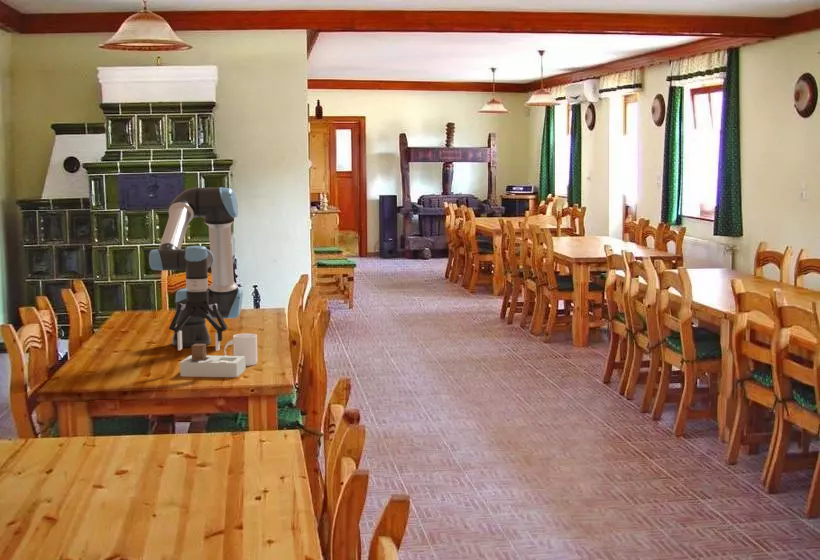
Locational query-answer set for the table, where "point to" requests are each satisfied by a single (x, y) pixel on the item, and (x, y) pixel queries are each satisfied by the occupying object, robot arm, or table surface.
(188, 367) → the socket board
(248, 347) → the mug
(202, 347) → the plug
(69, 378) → the table surface
